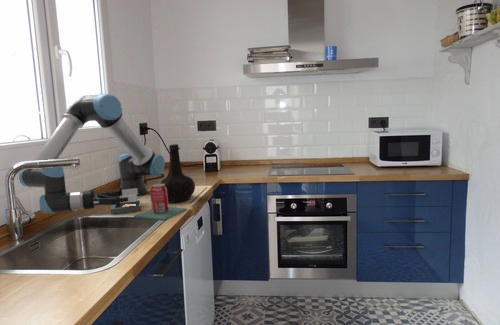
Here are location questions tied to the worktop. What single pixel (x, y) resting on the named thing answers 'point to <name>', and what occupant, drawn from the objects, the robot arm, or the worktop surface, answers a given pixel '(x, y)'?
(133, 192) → the robot arm
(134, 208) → the gray square tray
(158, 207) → the soda can
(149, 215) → the mat
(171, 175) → the glass bottle
